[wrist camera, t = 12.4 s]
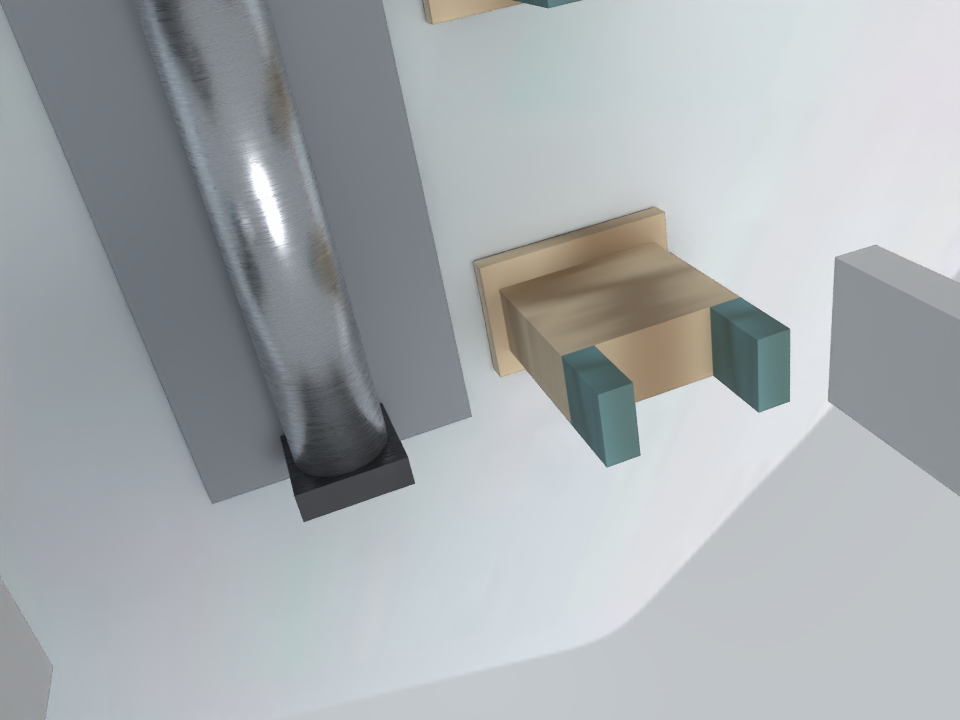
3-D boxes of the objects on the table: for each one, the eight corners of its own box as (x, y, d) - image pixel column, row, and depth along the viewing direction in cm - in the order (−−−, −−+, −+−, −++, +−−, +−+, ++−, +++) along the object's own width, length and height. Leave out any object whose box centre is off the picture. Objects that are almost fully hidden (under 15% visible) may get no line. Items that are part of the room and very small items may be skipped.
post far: (494, 369, 37) (593, 500, 28) (473, 261, 34) (575, 370, 26) (663, 313, 38) (804, 422, 30) (655, 207, 36) (806, 293, 27)
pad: (211, 495, 35) (212, 503, 34) (-48, -122, 24) (-52, -122, 23) (467, 409, 37) (471, 416, 36) (336, -192, 26) (339, -195, 26)
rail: (389, 427, 35) (414, 483, 32) (288, 460, 35) (303, 522, 31) (232, -141, 25) (244, -152, 22) (85, -114, 25) (73, -119, 21)
